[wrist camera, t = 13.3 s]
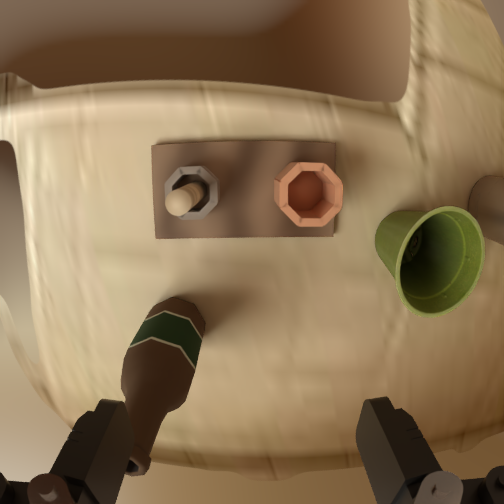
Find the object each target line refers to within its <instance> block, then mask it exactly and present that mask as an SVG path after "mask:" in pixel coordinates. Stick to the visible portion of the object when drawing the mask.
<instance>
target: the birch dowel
mask: <svg viewBox="0 0 504 504" xmlns="http://www.w3.org/2000/svg"><path fill="white" fill-rule="evenodd" d="M206 193H207V189H206V186H205V184H204V183H202V182H200V181H194V182H192V183H190V184H187V185H185V186H183V187H180V188H178V189H176V190H174V191H172V192H170V193H169V194H168V195H167V197H166V200H165V206H166V209H167V210H168V212H169V213H171V214H172V215H175V216H181V215H184V214H185V213H187V212H188V211H189V210H190V209H191V208H192V207H194V206H195V205H196V204H197V203H198V202H199V201H200V200H202V199H203V198H204V197H205V195H206Z"/></svg>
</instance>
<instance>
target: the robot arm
mask: <svg viewBox="0 0 504 504" xmlns="http://www.w3.org/2000/svg"><path fill="white" fill-rule="evenodd" d="M469 213H470V214H471V215H472V216H473V217H474V218H475V219H476V221H477V222H478V224H479V226H480V228H481V231H482V234H483V237H486V238H488V239H491V240H493V241H495V242H498V243H500V244H502V245H504V178H502V177H496V176H485V177H483V178H481V179H480V180H479V181H478V182H477V183H476V185H475V186H474V188H473V190H472V192H471V195H470V199H469ZM134 440H135V438H134V431H133V428H132V425H131V422H130V419H129V416H128V412H127V409H126V406H125V404H124V402H123V401H116V400H108V399H101V400H100V401H99V403H98V405H97V407H96V409H95V411H94V412H93V411H87V412H86V413H85V414H84V415H82V416H81V417H80V418H79V419H78V420H77V422H76V423H75V425H74V427H73V429H72V432H71V433H70V434H69V437H68V440H67V441H66V442H65V444H64V445H63V447H62V449H61V451H60V453H59V455H58V457H57V459H56V461H55V463H54V464H53V467H52V468H51V470H50V472H49V473H45V474H40V475H38V476H36V477H34V478H33V479H32V480H31V481H30V482H17V481H7V479H6V478H5V477H4V476H3V474H2V473H0V504H115V503H116V500H117V496H118V493H119V490H120V487H121V484H122V481H123V478H124V474H125V471H126V468H127V465H128V462H129V459H130V456H131V453H132V450H133V447H134ZM356 443H357V447H358V450H359V452H360V455H361V458H362V461H363V464H364V467H365V469H366V472H367V475H368V478H369V481H370V484H371V487H372V489H373V492H374V495H375V498H376V501H377V504H504V466H498V467H495V468H493V469H492V470H491V471H490V472H489V473H488V475H487V476H486V477H485V478H477V479H467V480H460V479H459V477H458V476H456V475H455V474H453V473H451V472H448V471H443V470H442V469H441V467H440V465H439V464H438V461H437V460H436V458H435V456H434V454H433V452H432V451H431V449H430V447H429V445H428V444H427V442H426V440H425V438H423V435H422V433H421V431H420V429H419V430H418V426H417V424H416V422H415V421H414V419H413V417H412V416H411V415H409V414H408V413H407V412H406V411H404V410H403V409H402V408H400V409H394V407H393V405H392V403H391V401H390V400H389V398H388V397H380V398H373V399H367V400H365V401H364V403H363V407H362V411H361V414H360V418H359V422H358V425H357V429H356Z"/></svg>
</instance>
